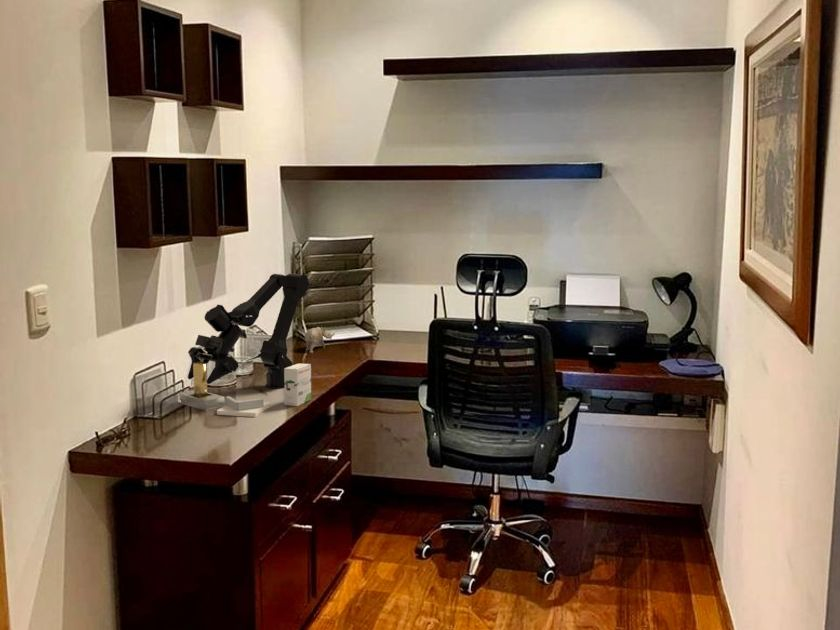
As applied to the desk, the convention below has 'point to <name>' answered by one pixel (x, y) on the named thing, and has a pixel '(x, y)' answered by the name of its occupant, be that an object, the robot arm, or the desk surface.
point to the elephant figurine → (316, 338)
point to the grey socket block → (202, 400)
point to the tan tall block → (200, 379)
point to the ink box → (297, 384)
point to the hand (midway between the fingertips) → (197, 381)
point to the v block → (243, 407)
